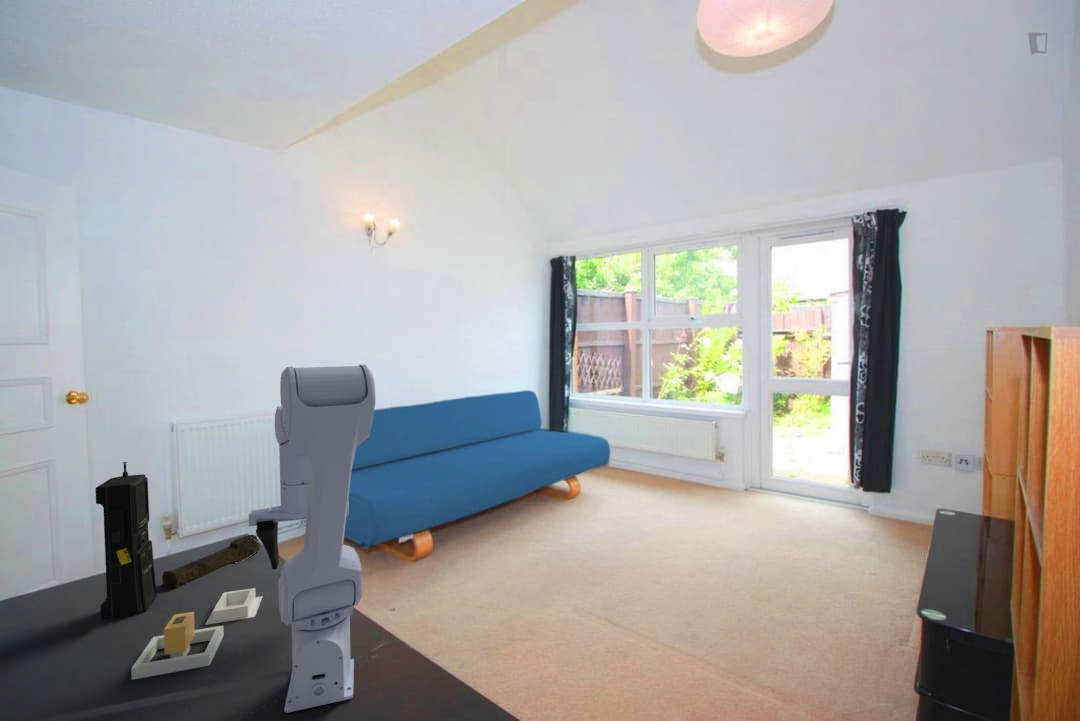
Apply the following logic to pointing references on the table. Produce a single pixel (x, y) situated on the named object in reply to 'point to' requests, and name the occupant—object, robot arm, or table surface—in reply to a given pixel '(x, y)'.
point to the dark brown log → (211, 562)
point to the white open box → (235, 606)
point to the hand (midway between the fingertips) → (301, 563)
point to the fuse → (179, 634)
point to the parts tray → (179, 663)
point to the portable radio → (127, 546)
